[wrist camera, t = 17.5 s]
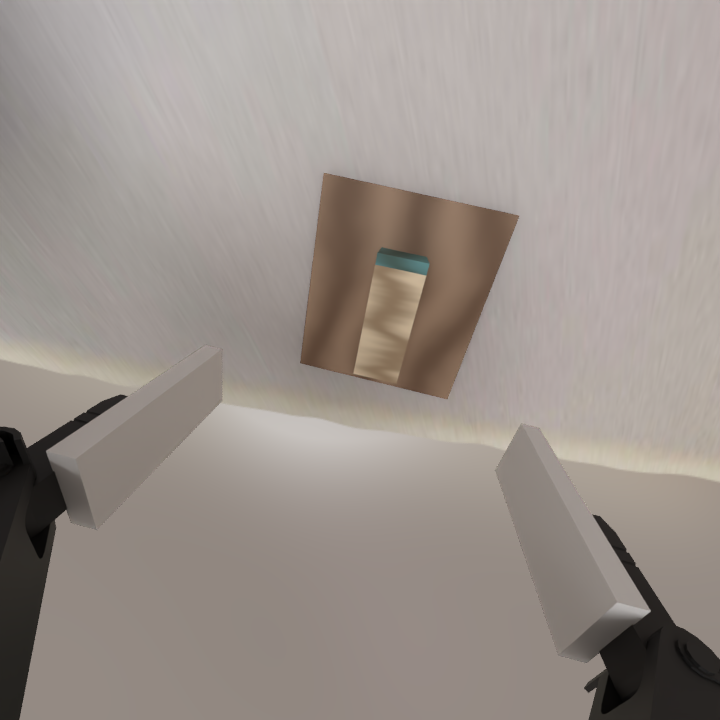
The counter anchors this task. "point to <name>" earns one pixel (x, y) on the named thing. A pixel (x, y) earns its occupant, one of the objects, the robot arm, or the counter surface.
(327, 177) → the walnut board
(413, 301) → the maple block
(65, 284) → the counter surface
